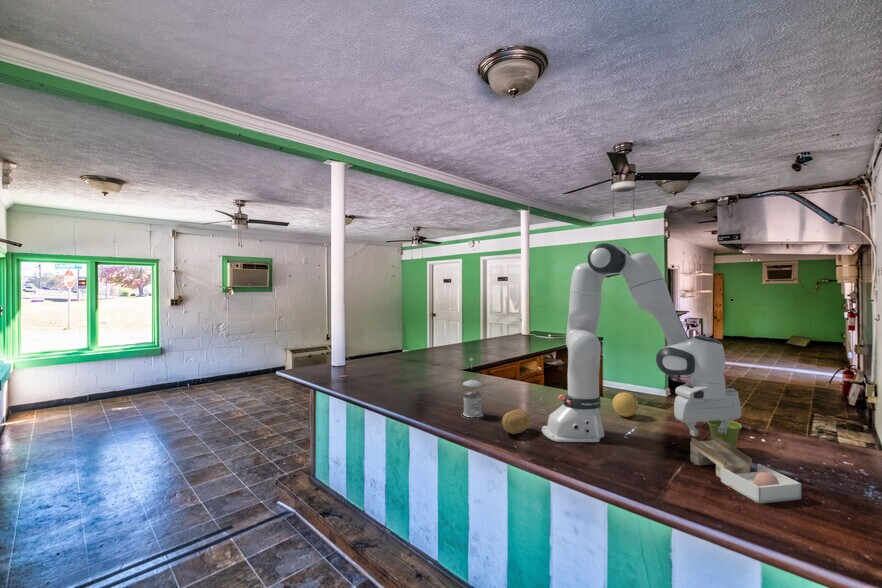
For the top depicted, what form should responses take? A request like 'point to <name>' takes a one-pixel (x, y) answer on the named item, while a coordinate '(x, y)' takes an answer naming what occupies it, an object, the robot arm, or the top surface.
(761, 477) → the rubber ball
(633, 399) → the stress ball
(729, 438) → the plant pot
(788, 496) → the tray
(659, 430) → the top surface
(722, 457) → the launch ramp
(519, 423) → the potato
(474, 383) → the french press
